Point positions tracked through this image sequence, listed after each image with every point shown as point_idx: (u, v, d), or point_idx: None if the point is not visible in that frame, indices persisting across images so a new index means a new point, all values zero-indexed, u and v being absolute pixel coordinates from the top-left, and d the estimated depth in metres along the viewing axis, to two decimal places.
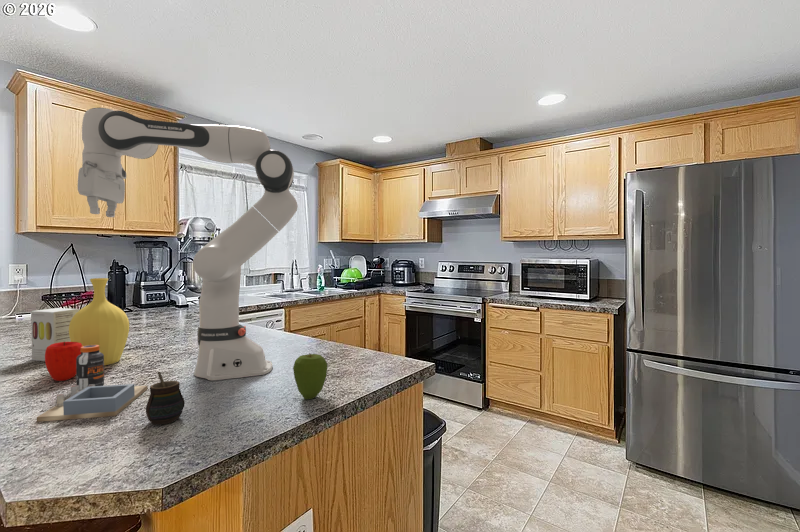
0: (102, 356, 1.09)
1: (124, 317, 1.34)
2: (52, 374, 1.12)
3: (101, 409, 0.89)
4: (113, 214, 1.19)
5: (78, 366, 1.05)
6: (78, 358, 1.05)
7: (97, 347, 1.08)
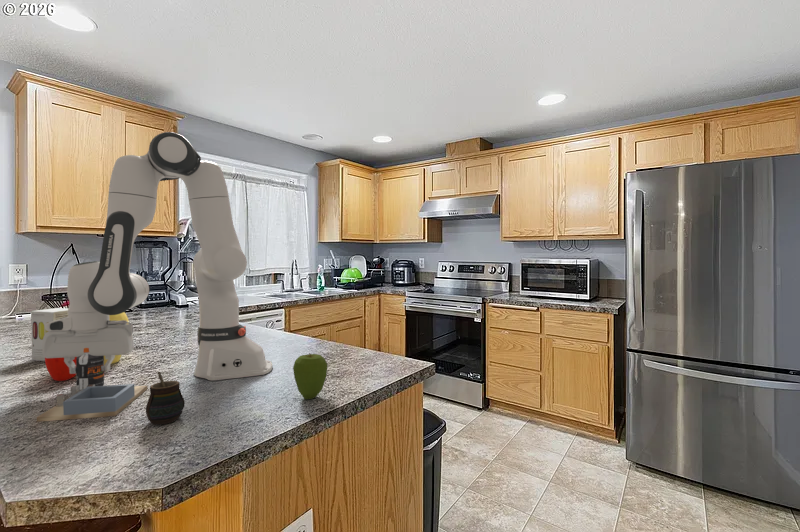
0: (102, 356, 1.09)
1: (124, 317, 1.34)
2: (52, 374, 1.12)
3: (101, 409, 0.89)
4: None
5: (78, 366, 1.05)
6: (78, 358, 1.05)
7: None
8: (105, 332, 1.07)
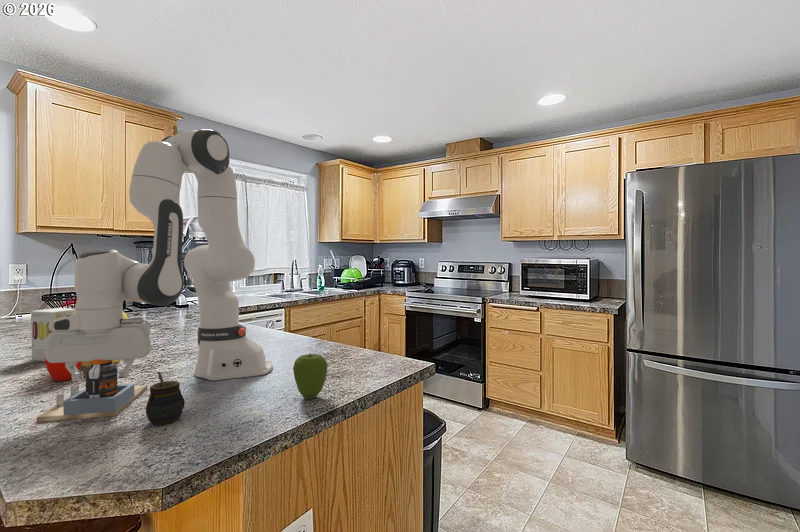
0: (115, 368, 0.94)
1: (124, 317, 1.34)
2: (52, 374, 1.12)
3: (101, 409, 0.89)
4: None
5: (88, 380, 0.90)
6: (88, 371, 0.90)
7: None
8: (118, 332, 0.92)
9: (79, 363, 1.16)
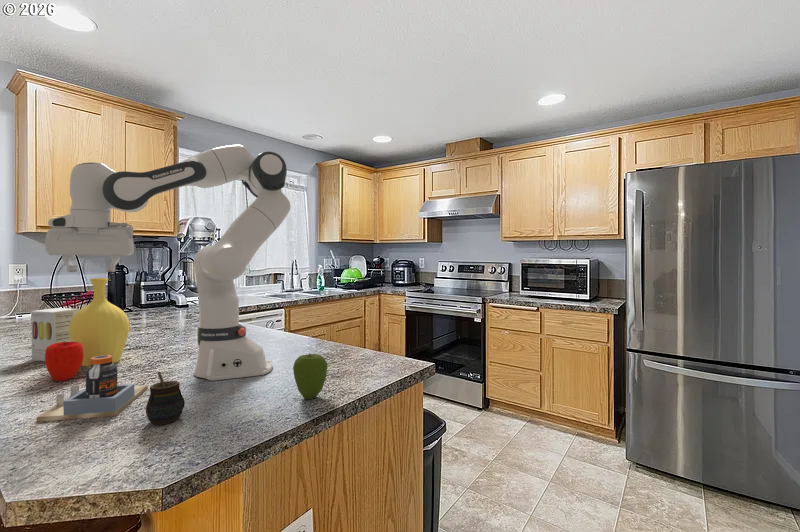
0: (115, 368, 0.94)
1: (124, 317, 1.34)
2: (52, 374, 1.12)
3: (101, 409, 0.89)
4: None
5: (88, 380, 0.90)
6: (88, 371, 0.90)
7: (110, 358, 0.93)
8: (106, 232, 1.10)
9: (79, 363, 1.16)
